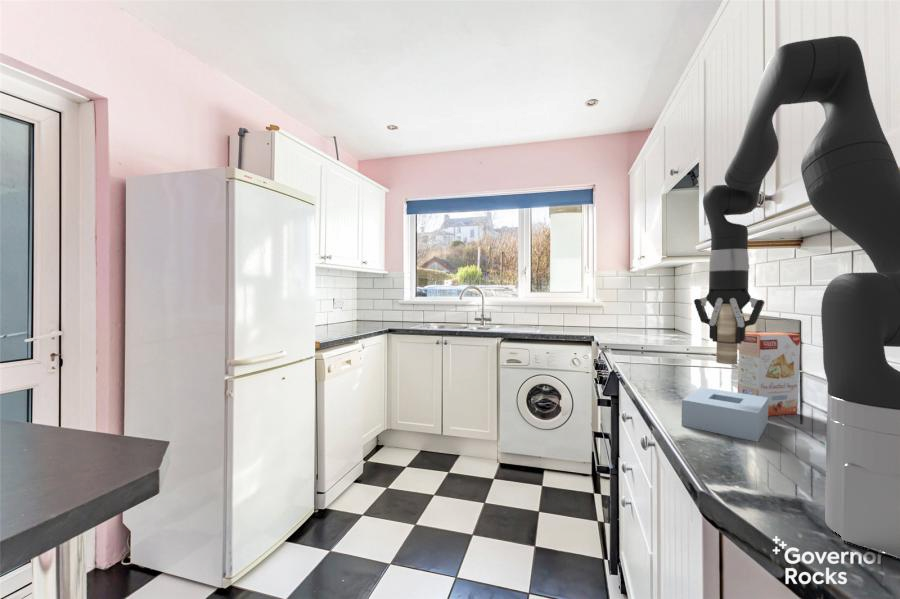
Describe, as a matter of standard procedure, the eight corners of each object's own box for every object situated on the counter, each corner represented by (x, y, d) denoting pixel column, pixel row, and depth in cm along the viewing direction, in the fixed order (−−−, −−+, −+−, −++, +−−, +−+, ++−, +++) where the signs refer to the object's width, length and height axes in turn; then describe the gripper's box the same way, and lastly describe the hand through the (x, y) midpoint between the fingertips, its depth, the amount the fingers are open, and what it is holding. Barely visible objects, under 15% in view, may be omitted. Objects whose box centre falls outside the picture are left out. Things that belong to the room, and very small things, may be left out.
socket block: (757, 441, 81) (758, 413, 81) (681, 425, 90) (681, 399, 90) (768, 422, 93) (768, 397, 93) (700, 409, 103) (700, 387, 103)
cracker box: (759, 418, 96) (761, 334, 96) (735, 411, 102) (737, 332, 102) (800, 414, 100) (802, 333, 100) (775, 407, 106) (776, 331, 106)
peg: (735, 365, 89) (736, 304, 89) (714, 362, 92) (715, 303, 92) (738, 363, 92) (740, 303, 92) (717, 360, 95) (718, 303, 95)
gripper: (689, 270, 94) (688, 340, 94) (765, 267, 84) (763, 346, 84) (697, 271, 99) (696, 338, 99) (769, 269, 89) (767, 344, 89)
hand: (727, 341), depth 92 cm, fingers closed on peg, 4 cm apart
